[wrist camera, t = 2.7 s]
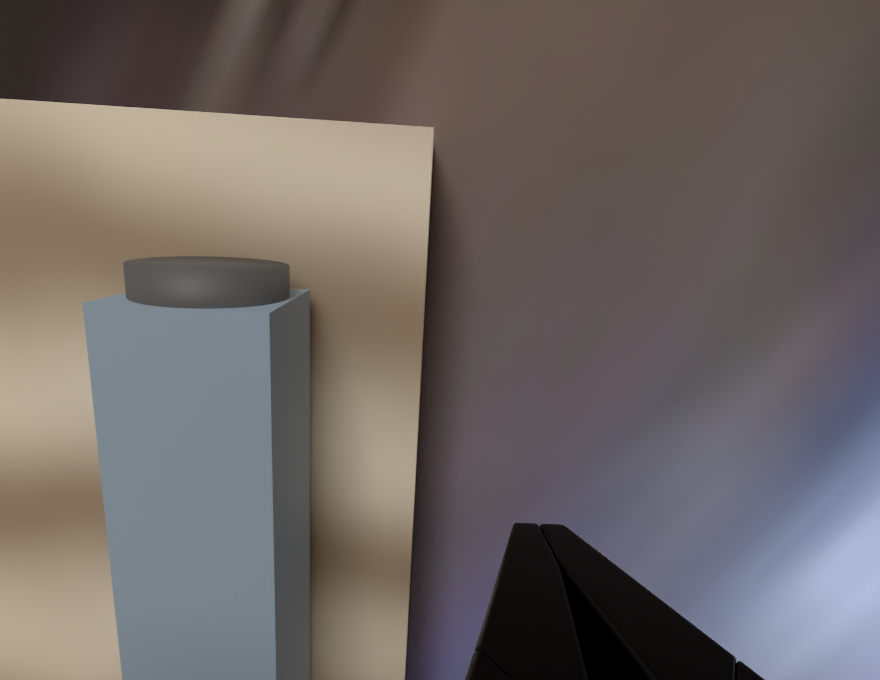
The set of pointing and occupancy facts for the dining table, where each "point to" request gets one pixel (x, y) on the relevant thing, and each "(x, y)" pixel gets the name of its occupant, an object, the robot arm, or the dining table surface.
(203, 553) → the hinged leg
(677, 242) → the dining table surface
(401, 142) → the stool seat
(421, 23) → the dining table surface
